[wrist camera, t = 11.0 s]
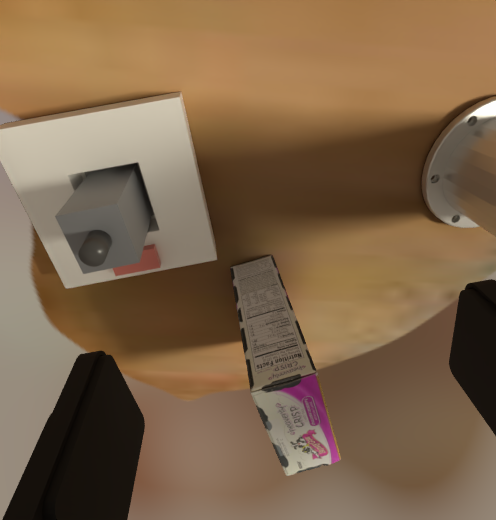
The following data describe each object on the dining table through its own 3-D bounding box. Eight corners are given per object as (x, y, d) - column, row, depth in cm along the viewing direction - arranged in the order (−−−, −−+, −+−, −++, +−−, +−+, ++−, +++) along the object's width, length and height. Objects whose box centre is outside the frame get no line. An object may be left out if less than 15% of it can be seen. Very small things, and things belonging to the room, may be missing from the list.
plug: (136, 162, 31) (110, 216, 22) (152, 211, 33) (135, 278, 24) (89, 172, 31) (43, 230, 21) (109, 219, 33) (75, 290, 24)
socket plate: (181, 91, 29) (179, 98, 26) (215, 243, 36) (217, 264, 33) (5, 123, 29) (-21, 134, 25) (75, 269, 36) (63, 294, 33)
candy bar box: (296, 327, 44) (344, 463, 30) (256, 339, 44) (284, 479, 30) (274, 250, 38) (320, 374, 24) (228, 264, 38) (246, 396, 24)
